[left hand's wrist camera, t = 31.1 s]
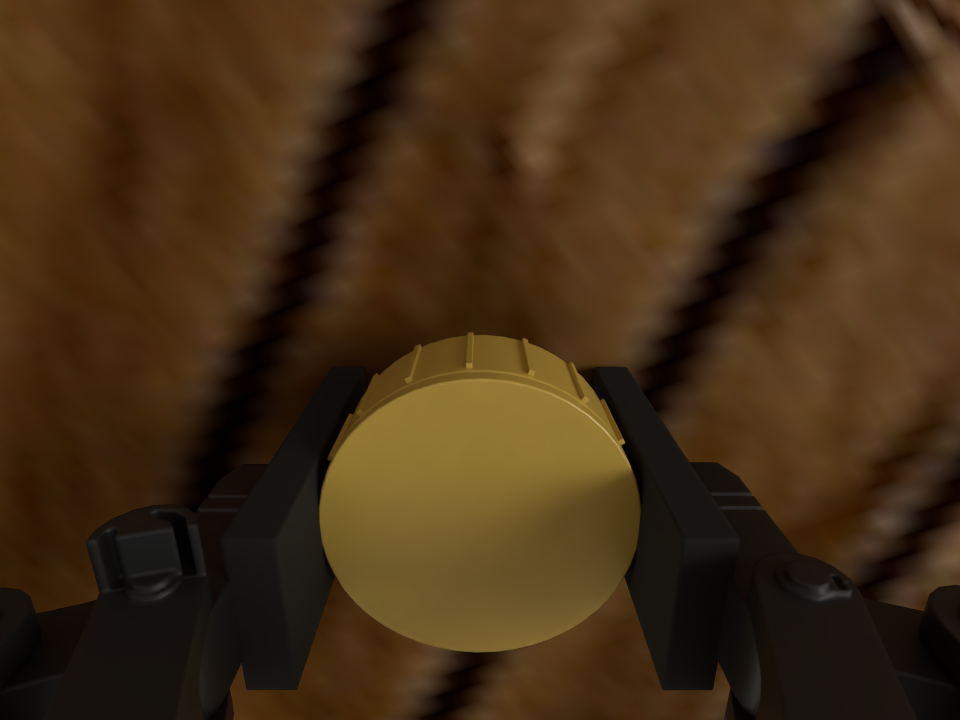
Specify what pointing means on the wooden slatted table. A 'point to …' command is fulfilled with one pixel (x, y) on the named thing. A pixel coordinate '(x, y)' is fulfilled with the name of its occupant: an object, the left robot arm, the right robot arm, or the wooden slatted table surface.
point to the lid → (479, 497)
